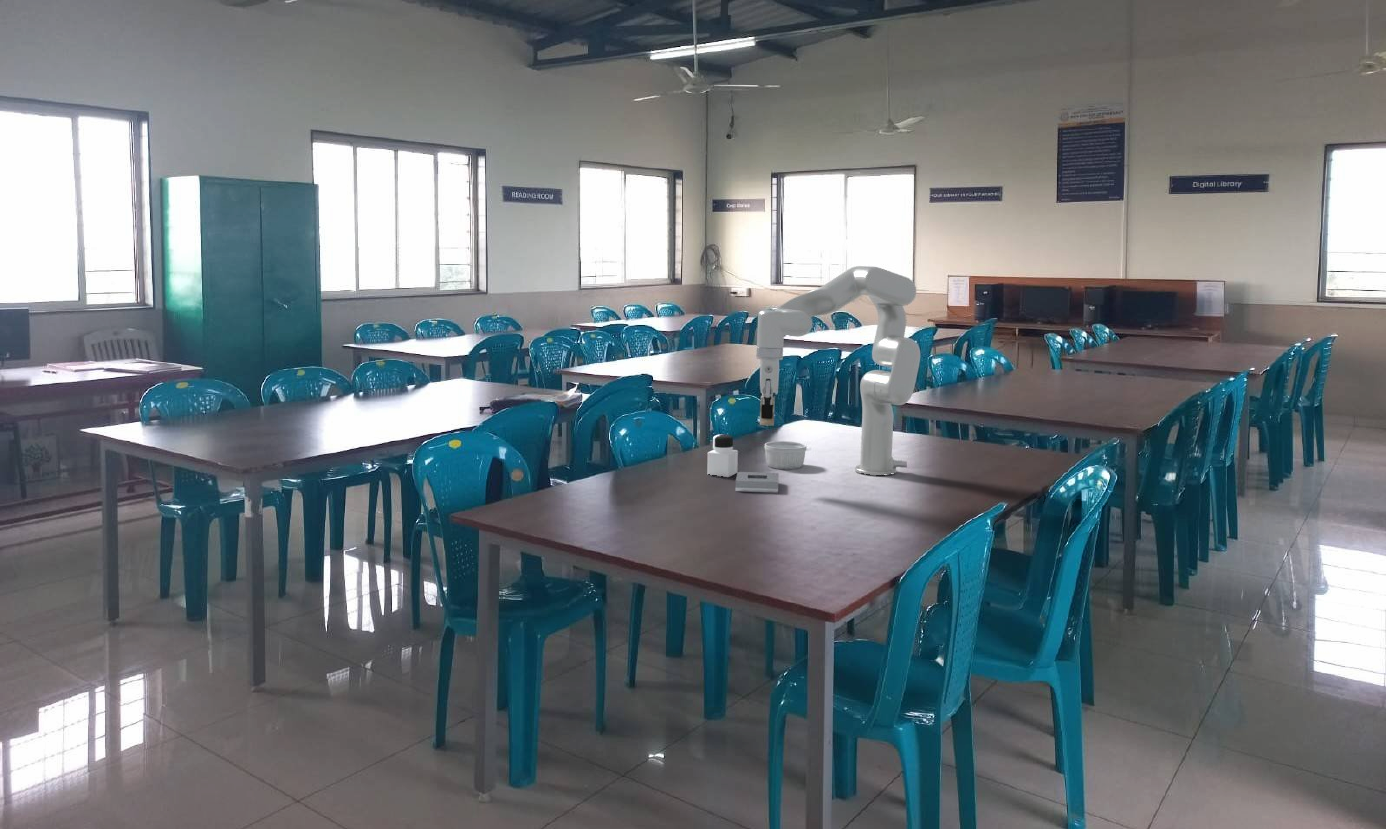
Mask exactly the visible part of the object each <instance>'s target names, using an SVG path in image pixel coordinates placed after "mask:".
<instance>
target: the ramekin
mask: <svg viewBox="0 0 1386 829" xmlns="http://www.w3.org/2000/svg"><path fill="white" fill-rule="evenodd" d="M763 448H764V449H765V450H764V451H765V461H766V464H767V466H768V467H770V468H771V469H772V468H773V469H775V470H776V469H777V470H796V469H800V468H802V466H804V462H805V457H806V451H807V444H805V443H801V442H798V441H789V440H787V441H786V440H785V441H784V440H777V441H776V440H775V441H768V442H766V443H764V447H763Z"/></svg>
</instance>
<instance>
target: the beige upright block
mask: <svg viewBox="0 0 1386 829" xmlns="http://www.w3.org/2000/svg"><path fill="white" fill-rule="evenodd" d="M775 398H776V396H773V397H772V405H773V417H772V419H762V418H761V411H762V404H763V395H761V396H760V404H759V405H760V407H759V426H775V425H774V424H775V404H776V402H775V401H776V400H775ZM770 401H771V400H770ZM764 405H765V403H764Z"/></svg>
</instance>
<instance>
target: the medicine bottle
mask: <svg viewBox="0 0 1386 829" xmlns="http://www.w3.org/2000/svg"><path fill="white" fill-rule="evenodd" d="M738 457H739V451H738V450H737V449H734V437H733V436H731V435H729V434H723V433H722V434H716V435H714V436H713V438H712V450H710V451H708V452H707V463H706V464H707V467H706V468H707V470H706V473H707V475H708V474H710V475H709V476H712V475H717V476H716V477H721V476H723V478H729V477H732V476H734V475H735V474H736V475H737V472H738V467H739V466H738V460H739V459H738Z"/></svg>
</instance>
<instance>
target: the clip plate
mask: <svg viewBox="0 0 1386 829" xmlns="http://www.w3.org/2000/svg"><path fill="white" fill-rule="evenodd" d="M735 492H745V493H746V492H747V493H748V492H749V493H751V492H752V493H779V473H778V472H756V471H755V472H754V471H753V472H752V471H737V473H736V478H735Z"/></svg>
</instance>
